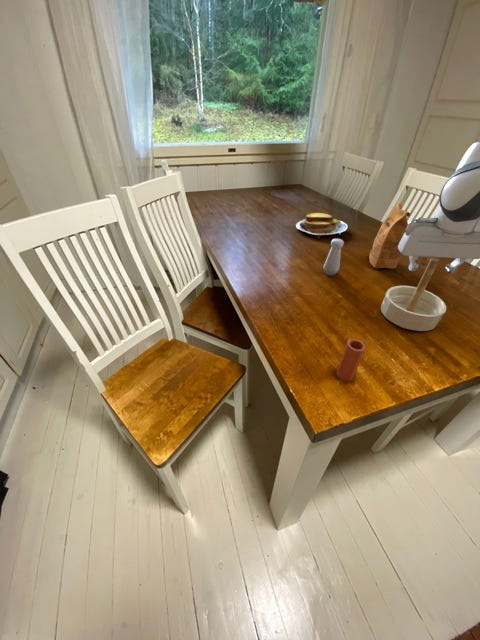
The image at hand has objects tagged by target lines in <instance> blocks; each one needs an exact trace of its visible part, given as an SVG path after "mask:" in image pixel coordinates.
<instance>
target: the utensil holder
mask: <svg viewBox="0 0 480 640" xmlns="http://www.w3.org/2000/svg"><path fill="white" fill-rule="evenodd" d="M366 349H367V346H366V343H364V342H363V341H362V340H360V339H357V338H351V339H348V340H347V342H346V344H345V347H344V349H343V352H342V354H341V355H342V356H341V359H340V362H339V363H338V367H337V370H336V376H337V378H338V379H340V380H341V381H343V382H351V381H353V379H354V378H355V375H356V373H357V371H358V368H359V365H360V364H361V361H362V358H363V356H364V354H365V351H366Z"/></svg>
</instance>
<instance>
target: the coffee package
mask: <svg viewBox="0 0 480 640" xmlns="http://www.w3.org/2000/svg"><path fill="white" fill-rule="evenodd" d="M402 208H403V205H402V204H401V203H397V204H396V206H395V207H394V208H393V209H392V210H391V212H390V213H389V214H388V216H386V218H385V220H383V222H382V224H381V226H380V227H379V230H378V231H377V234H376V236H375V238H374V240H373V243H372V248H371V250H370V252H369V256H368V258H369V264H370V265H371V266H372V267H373V268H374V269H390V270H391V269H392V270H393V269H396V268H397V266H398V263H399V262H400V260H401V258H402V256H403V255H402V254H401V253H400V251H399V249H398V245H399V243H400V241H401V239H402V237H403V235H404V233H405V231H406V228H407V225H408V223H409V222H408V217H410V216H411V212H409V211H408V210H404V209H402Z"/></svg>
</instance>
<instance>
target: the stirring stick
mask: <svg viewBox="0 0 480 640" xmlns="http://www.w3.org/2000/svg"><path fill="white" fill-rule="evenodd" d="M439 263H440V259H439V258H438V257H430V259H429V261H428V264H427V266H426V268H425V270H424V272H423V274H422V275H421V277H420V280H419V281H418V284H417V285H416V290H415V292H414V294H413V296H412V298H411V300H410V302H409V304H408V306H407V308H406V310H407V311H410V312H413V311H414V309H415V307H416V305H417V304H418V302H419V300H420V298H421V296H422V294H423V292H424V290H426V288H427V286H428V284H429V282H430V280H431V279H432V276H433V275H434V273H435V271H436V268H438V265H439Z"/></svg>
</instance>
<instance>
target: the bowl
mask: <svg viewBox="0 0 480 640" xmlns="http://www.w3.org/2000/svg"><path fill="white" fill-rule="evenodd" d="M416 288H417V286H411V285H396V286H392V287H390V288H388V289H387V291H386V292H385V294H384V298H383V300H382V302H381V305H380V312H381V314H383V316H384V317H385V318H386V319H387V320H388V321H389V322H390V323H393V324H394V325H396V326H398V327H400V328H403V329H406V330H410V331H417V332H428V331H431V330H434V329H435V328H436V327H438V325H439V324H440V322H441V320H442V319H443V318H444V315H445V314H446V312H447V305H446V303H445V302H444V300H443V299H442V298H441V297H439V296H438V295H435V294H434V293H433V292H430V291H428V290H426V289H425V290H424V292H423V294H422V296H421V298H420V300H419V302H418V304H417V305H416V307H415V309H414V311H413V312H410V311H407V310H406V308H407V306H408V304H409V302H410V300H411V298H412V296H413V294H414V292H415V290H416Z"/></svg>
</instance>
